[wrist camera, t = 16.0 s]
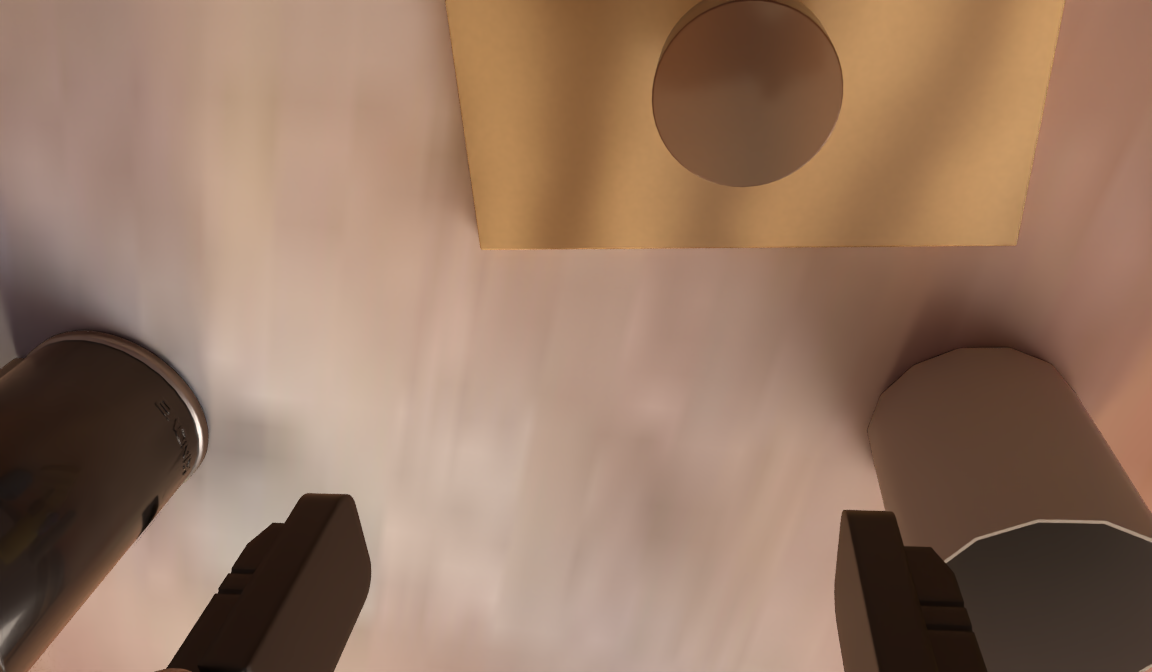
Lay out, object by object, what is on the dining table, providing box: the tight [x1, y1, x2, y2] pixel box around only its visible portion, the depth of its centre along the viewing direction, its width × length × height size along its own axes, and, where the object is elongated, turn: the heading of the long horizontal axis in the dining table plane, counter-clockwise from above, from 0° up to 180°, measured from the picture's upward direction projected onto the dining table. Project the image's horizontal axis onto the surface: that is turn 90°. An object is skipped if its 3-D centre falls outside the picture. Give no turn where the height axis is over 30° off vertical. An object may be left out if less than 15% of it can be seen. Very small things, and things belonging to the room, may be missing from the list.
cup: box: [867, 347, 1152, 672], centre depth 32 cm, size 8×8×10 cm
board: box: [445, 0, 1065, 250], centre depth 29 cm, size 20×14×1 cm
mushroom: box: [652, 0, 843, 187], centre depth 27 cm, size 5×5×5 cm
